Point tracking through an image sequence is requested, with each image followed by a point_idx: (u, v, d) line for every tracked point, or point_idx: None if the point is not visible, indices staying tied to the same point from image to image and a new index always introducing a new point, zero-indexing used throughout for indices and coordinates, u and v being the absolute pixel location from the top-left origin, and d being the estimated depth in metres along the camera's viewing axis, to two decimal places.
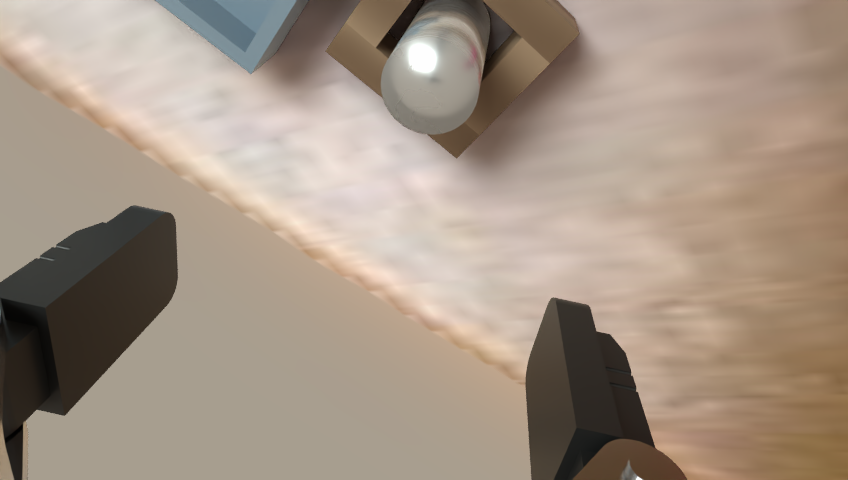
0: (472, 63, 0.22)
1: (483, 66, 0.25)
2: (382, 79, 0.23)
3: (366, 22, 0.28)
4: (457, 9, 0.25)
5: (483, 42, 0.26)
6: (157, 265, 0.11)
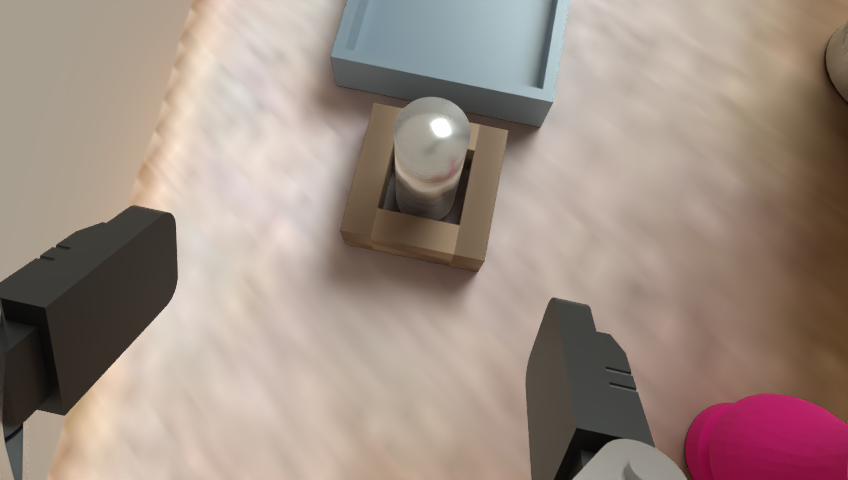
0: (465, 150, 0.29)
1: (445, 186, 0.32)
2: (420, 99, 0.30)
3: None
4: None
5: (453, 187, 0.33)
6: (157, 265, 0.11)
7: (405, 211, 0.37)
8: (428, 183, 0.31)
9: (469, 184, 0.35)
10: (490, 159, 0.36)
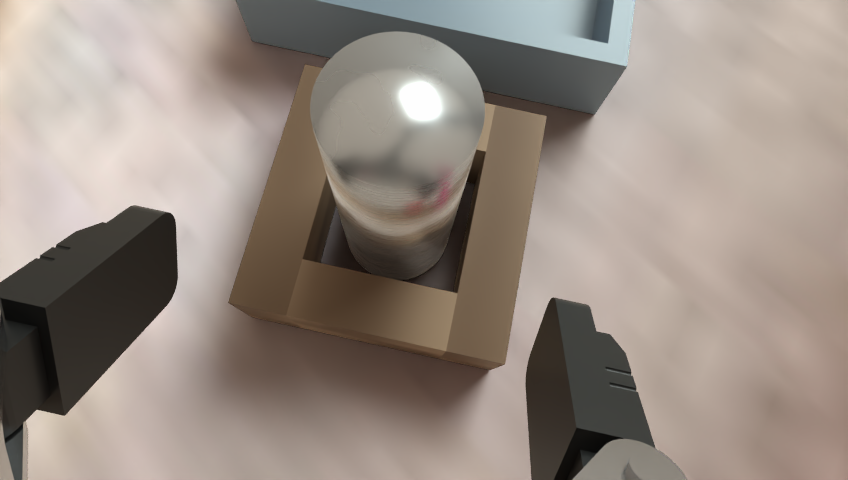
0: (472, 150, 0.13)
1: (428, 224, 0.15)
2: (373, 36, 0.13)
3: None
4: None
5: (445, 224, 0.17)
6: (157, 265, 0.11)
7: (360, 260, 0.21)
8: (391, 220, 0.14)
9: (476, 214, 0.19)
10: (514, 167, 0.20)
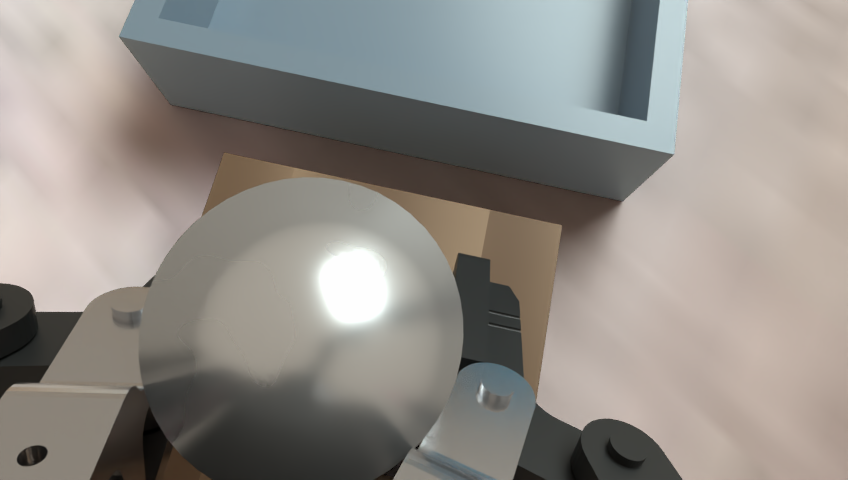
0: (441, 410, 0.07)
1: None
2: (264, 188, 0.07)
3: None
4: None
5: None
6: None
7: None
8: None
9: None
10: None
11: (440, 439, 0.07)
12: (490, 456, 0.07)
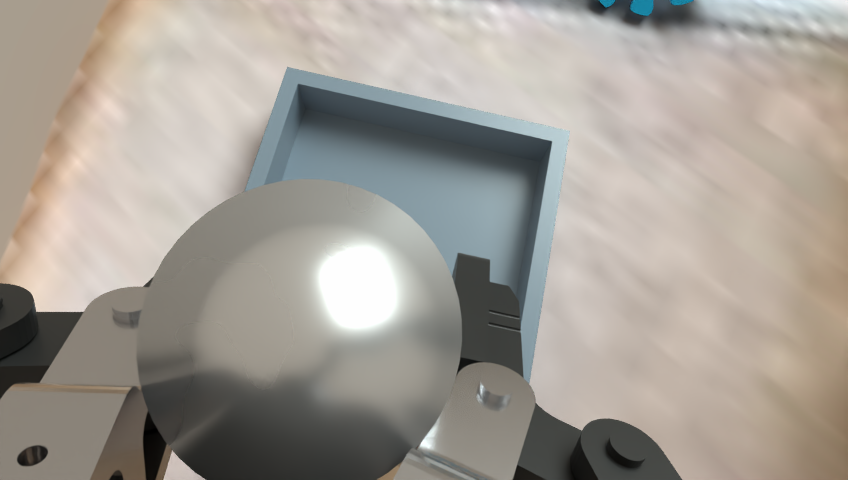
0: (439, 412, 0.07)
1: None
2: (262, 190, 0.07)
3: None
4: None
5: None
6: None
7: None
8: None
9: None
10: None
11: (439, 439, 0.07)
12: (490, 456, 0.07)
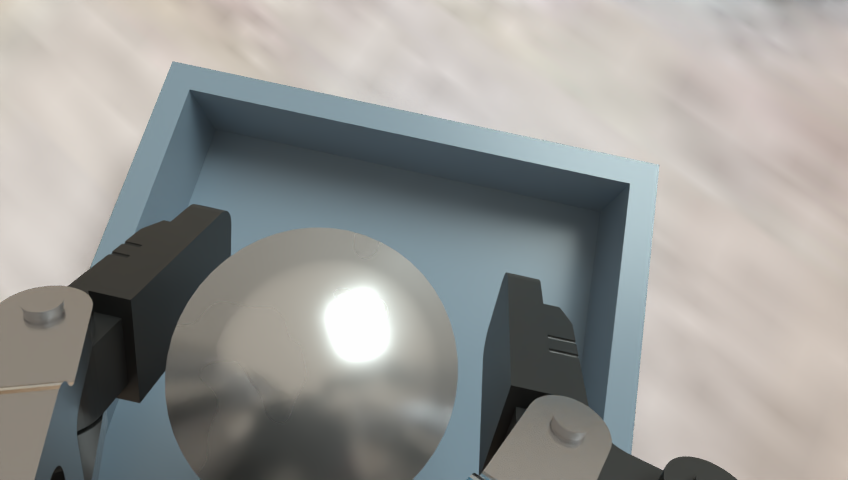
0: (437, 443, 0.08)
1: None
2: (276, 238, 0.08)
3: None
4: None
5: None
6: (215, 262, 0.12)
7: None
8: None
9: None
10: None
11: None
12: None
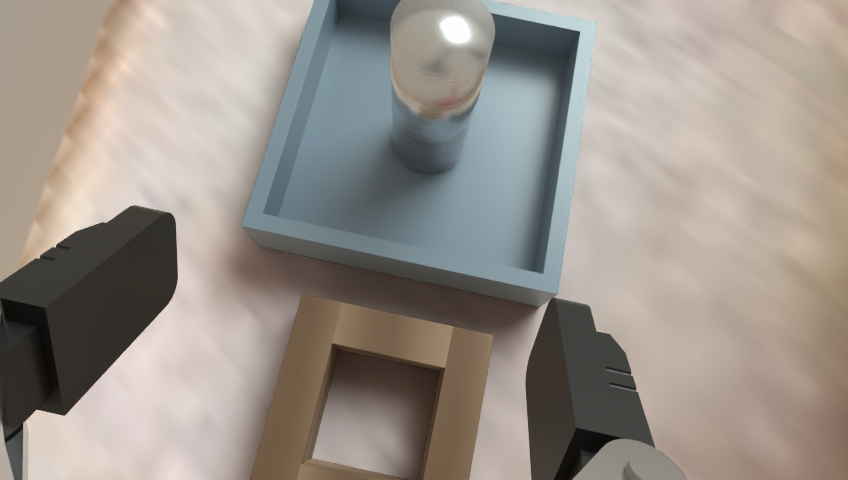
0: (488, 53, 0.21)
1: (458, 112, 0.24)
2: None
3: (353, 322, 0.25)
4: None
5: (467, 118, 0.25)
6: (157, 265, 0.11)
7: (404, 158, 0.29)
8: (436, 105, 0.23)
9: (436, 423, 0.24)
10: (467, 381, 0.25)
11: None
12: None
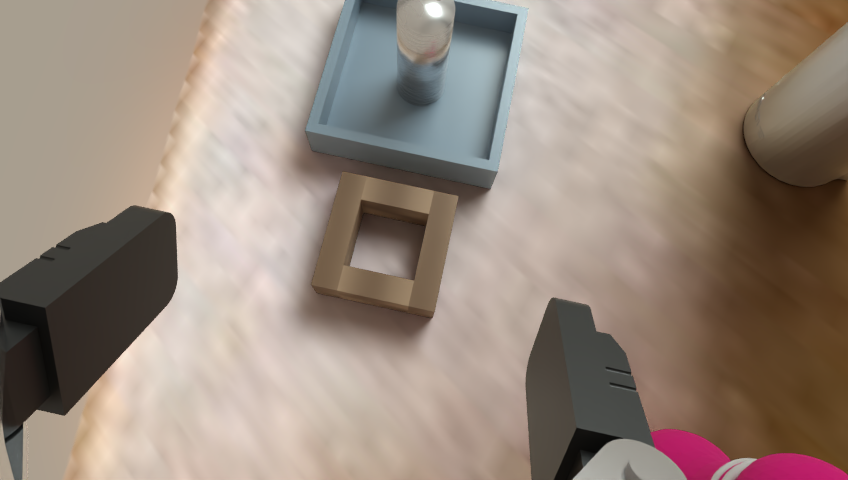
0: (451, 22, 0.38)
1: (436, 59, 0.40)
2: None
3: (373, 188, 0.42)
4: None
5: (442, 64, 0.42)
6: (157, 265, 0.11)
7: (404, 94, 0.46)
8: (422, 53, 0.40)
9: (423, 244, 0.41)
10: (442, 221, 0.42)
11: None
12: None
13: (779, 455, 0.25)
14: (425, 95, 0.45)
